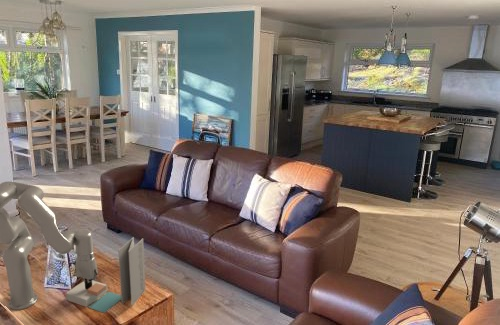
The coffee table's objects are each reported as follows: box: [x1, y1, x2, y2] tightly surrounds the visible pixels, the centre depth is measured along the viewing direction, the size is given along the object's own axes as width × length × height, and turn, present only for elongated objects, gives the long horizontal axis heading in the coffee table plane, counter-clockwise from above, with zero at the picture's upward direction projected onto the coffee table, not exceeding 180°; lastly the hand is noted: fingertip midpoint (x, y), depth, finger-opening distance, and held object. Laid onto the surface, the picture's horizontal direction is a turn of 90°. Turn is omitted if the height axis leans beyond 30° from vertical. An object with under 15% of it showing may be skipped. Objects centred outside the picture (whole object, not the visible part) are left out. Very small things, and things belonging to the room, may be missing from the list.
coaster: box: [87, 283, 106, 296], centre depth 189 cm, size 6×6×2 cm
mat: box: [87, 291, 122, 314], centre depth 187 cm, size 10×14×1 cm
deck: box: [65, 280, 108, 308], centre depth 191 cm, size 13×14×4 cm
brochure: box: [117, 236, 146, 307], centre depth 188 cm, size 14×6×30 cm, turn 168°
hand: (88, 287), depth 190 cm, fingers closed
